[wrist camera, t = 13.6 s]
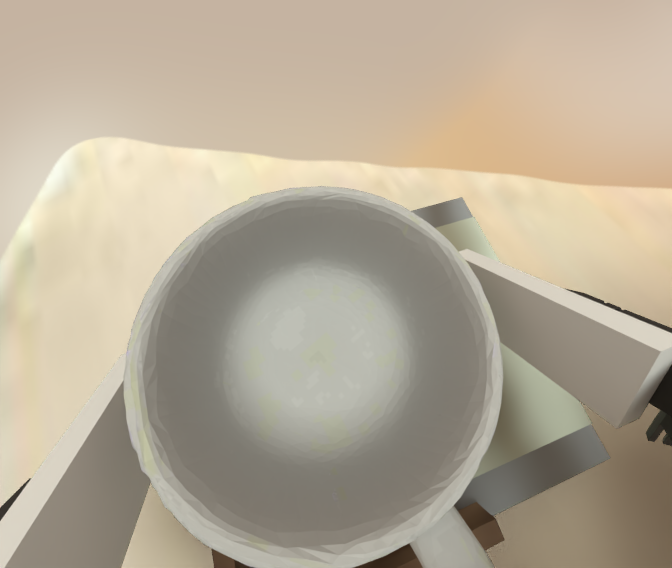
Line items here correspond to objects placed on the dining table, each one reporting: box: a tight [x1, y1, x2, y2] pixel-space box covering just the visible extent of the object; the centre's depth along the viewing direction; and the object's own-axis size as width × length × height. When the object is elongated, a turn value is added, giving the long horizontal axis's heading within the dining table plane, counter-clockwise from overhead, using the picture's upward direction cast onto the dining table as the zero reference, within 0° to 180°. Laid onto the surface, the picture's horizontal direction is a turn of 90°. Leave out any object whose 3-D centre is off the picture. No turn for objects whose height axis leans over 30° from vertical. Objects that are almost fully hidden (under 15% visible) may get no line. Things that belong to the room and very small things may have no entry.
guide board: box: [212, 197, 610, 568], centre depth 14 cm, size 20×18×2 cm
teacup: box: [123, 186, 503, 568], centre depth 10 cm, size 14×11×8 cm
